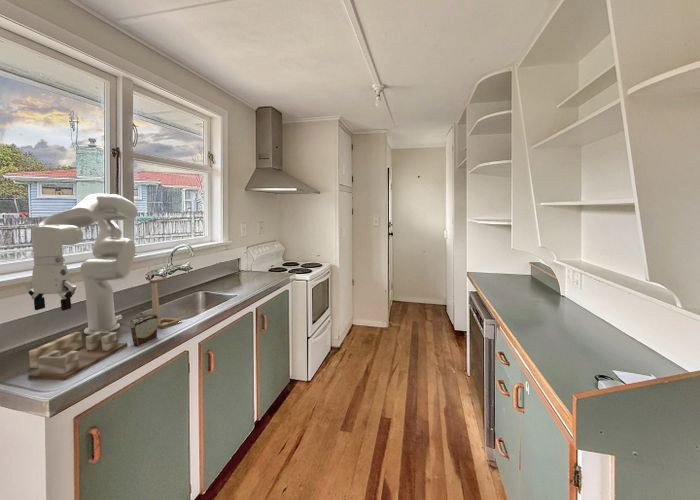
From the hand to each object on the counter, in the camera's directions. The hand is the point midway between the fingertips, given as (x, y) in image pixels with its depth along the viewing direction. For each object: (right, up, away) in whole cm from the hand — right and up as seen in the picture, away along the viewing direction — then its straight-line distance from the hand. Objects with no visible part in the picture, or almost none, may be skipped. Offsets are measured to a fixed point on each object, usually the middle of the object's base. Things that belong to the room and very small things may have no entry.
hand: (53, 309), depth 115 cm
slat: (0, -18, +2) cm, 18 cm away
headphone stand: (+18, -14, +36) cm, 43 cm away
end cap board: (+12, -18, -1) cm, 21 cm away
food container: (+21, -16, +16) cm, 31 cm away
